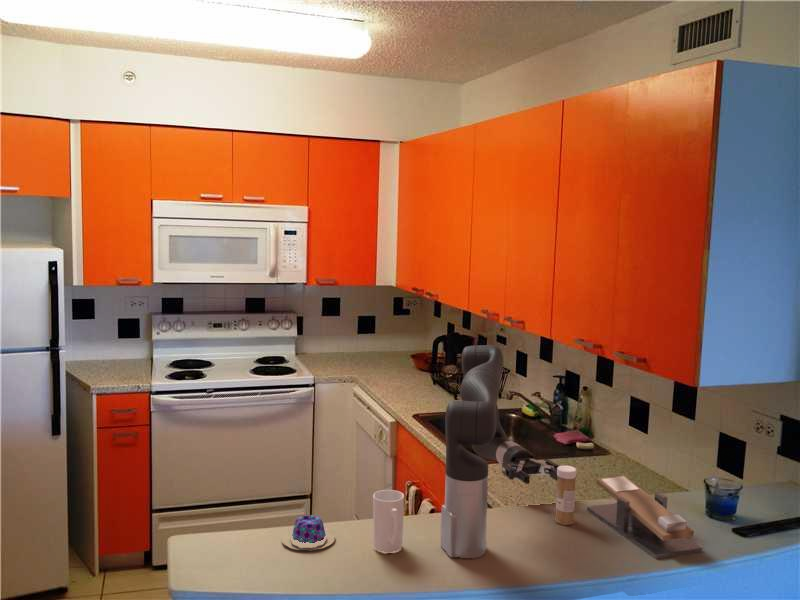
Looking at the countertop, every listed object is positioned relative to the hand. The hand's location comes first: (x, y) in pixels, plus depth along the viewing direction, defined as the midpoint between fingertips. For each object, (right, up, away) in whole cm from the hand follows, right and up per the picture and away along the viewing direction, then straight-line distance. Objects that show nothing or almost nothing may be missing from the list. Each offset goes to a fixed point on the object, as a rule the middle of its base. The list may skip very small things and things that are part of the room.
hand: (543, 478), depth 183 cm
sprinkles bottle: (+3, -8, -9) cm, 13 cm away
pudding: (-57, -9, -21) cm, 62 cm away
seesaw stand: (+20, -9, -13) cm, 26 cm away
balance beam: (+20, -3, -14) cm, 25 cm away
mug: (-39, -10, -26) cm, 48 cm away
